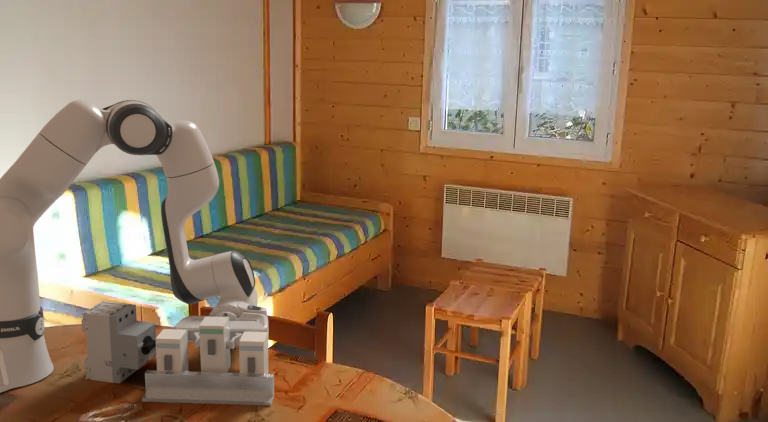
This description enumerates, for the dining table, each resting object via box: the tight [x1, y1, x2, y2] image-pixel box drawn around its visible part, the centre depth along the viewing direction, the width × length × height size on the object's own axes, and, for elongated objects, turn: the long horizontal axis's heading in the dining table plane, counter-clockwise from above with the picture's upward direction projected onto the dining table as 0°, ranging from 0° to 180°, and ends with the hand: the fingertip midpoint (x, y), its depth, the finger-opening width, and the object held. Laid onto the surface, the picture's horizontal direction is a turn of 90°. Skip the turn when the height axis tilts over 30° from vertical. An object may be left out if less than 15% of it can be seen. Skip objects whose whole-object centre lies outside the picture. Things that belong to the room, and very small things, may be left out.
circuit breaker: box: [81, 300, 157, 384], centre depth 151 cm, size 8×14×15 cm, turn 78°
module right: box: [238, 332, 269, 374], centre depth 146 cm, size 5×6×12 cm
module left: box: [155, 328, 190, 371], centre depth 146 cm, size 5×6×12 cm
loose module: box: [199, 317, 232, 373], centre depth 147 cm, size 5×6×11 cm
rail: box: [141, 369, 275, 406], centre depth 143 cm, size 26×4×5 cm, turn 89°
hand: (214, 345), depth 146 cm, fingers closed on loose module, 5 cm apart
